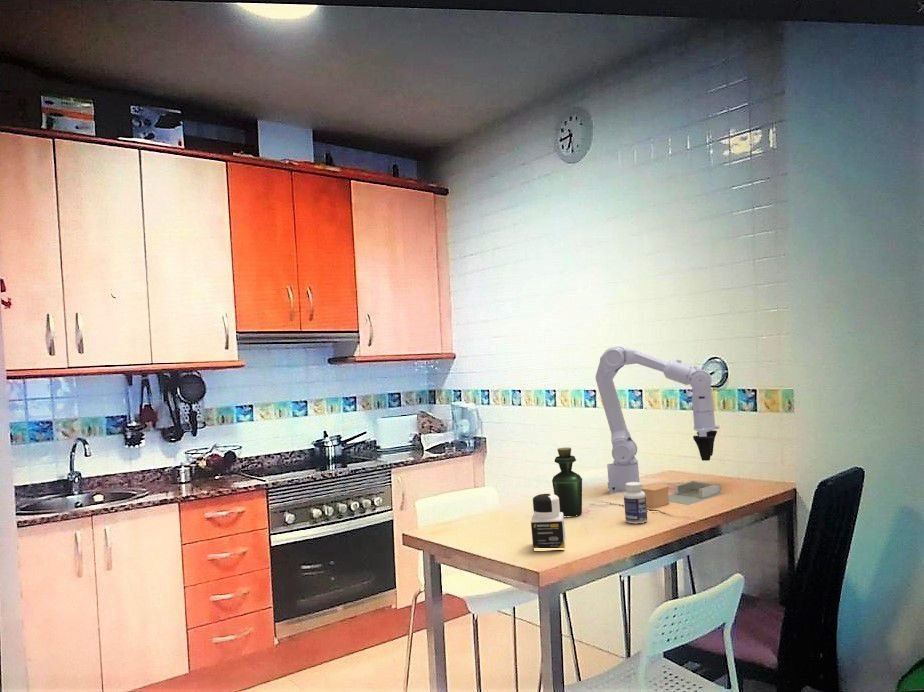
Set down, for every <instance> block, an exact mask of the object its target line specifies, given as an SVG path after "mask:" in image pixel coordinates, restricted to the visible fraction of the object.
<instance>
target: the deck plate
mask: <svg viewBox="0 0 924 692" xmlns="http://www.w3.org/2000/svg"><path fill="white" fill-rule="evenodd" d="M724 494H725V493H724V492H720V494H716V495H713V496H710V497H707V498H704V499H701V498H696V497H689V496H683V495H675V493H672V494H668V496H669V503H674V504H681V505H687V506H689V505H693V504H696V503H698V502H699V503H700V502H702V501H705V500H710V499H712V498H715V497H718V496H721V495H724Z"/></svg>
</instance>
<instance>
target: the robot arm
mask: <svg viewBox="0 0 924 692" xmlns="http://www.w3.org/2000/svg"><path fill="white" fill-rule="evenodd" d="M636 364H637V365H640V366H644V367H646V368H649V369H652V370H656V371H659V372H660V373H661V372H662V373H663V374H664V377H665V378H666V379H668V380H671V381H674V382H676V383H679V384H683V385H685V386H689V385H690V387H691V391H692V396H691V402H692V414H693V415H692V416H693V417H692V418H693V430H694V431H696V434H697V435H693V436H692V437H693V441H694V442H695V444H696V446H697V448H698V451H699V456H700V459H701V461H703V462H704V461H706V462H707V461H710V460H711V457H712V456H713V454H714V444H715V439H716V436H717V433H718V430H719V429H721V428H720V425H716V423H715V422H716V419H715V410H714V406H715V405H714V396H713V395H714V394H712V393H713V388H712V386H711V385H712V380H713V378H712V375H711V374H710V373H709V372H708V371H706V370H705V369H704V368H699V369H698V366H697V365H694V366H691V365H690V364H687V363H683V362H682V360H681V359H676V360H674V359H671V360H669V361H665V360H662V359H660V358H656V357H654V356H652V355H650V354H646V353H644V352H642V351H638V350H636V349H631V348H624V347H623V346H614V347H613V346H611V347H608V349H607V348H606V350H605V351H604V352H603V354H602V355H601V356H600V357H599V363H598V366H597V370H596V373H595V382H596V384H597V385H596V386H597V388H598V392H599V395H600V400H601V402H602V406H603V410H604V413H605V417H606V420H607V423H608V427H609V431H610V436H611V437H610V439H611V440H610V441H611V445H612V448H611V456H612V457H611V458H612V459H613V463H607V464H606V468H607V480H608V482H607V489H608V490H609V495H614V494H617V493H620V492H626V491H627V490H626V483H629V482H640V473H639V472H640V471H639V470H640V469H639V461H638V459H637V458H636V457H635V456H636V455H637V453H638V446H637V443H636V442H635V441H634V440H633V439H632V436H631V434H630V432H629V429H628V428H627V424H626V421H625V417H624V414H623V410H622V408H621V407H622V406H621V403H620V400H619V397H618V392H617V388H616V386H615V382H614V378H615V376H617V373H618V372H619V371H620V369H622V368H624V366H628V365H636ZM640 483H641V482H640Z"/></svg>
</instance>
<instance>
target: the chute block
mask: <svg viewBox="0 0 924 692" xmlns="http://www.w3.org/2000/svg"><path fill="white" fill-rule="evenodd" d="M669 489H670V485H669V486H668V485H661V484H656V483H655V484H651V485H646V486H642V489H641V491H643V492H644V493H645V496H646V507H647V510H649V511H659V512H660V510H658V509H656V508H660V507H663V506H667V505H669V504H670V502H669V496H668V495H669Z"/></svg>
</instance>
